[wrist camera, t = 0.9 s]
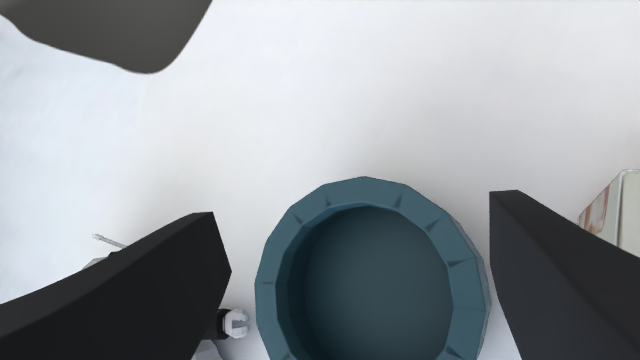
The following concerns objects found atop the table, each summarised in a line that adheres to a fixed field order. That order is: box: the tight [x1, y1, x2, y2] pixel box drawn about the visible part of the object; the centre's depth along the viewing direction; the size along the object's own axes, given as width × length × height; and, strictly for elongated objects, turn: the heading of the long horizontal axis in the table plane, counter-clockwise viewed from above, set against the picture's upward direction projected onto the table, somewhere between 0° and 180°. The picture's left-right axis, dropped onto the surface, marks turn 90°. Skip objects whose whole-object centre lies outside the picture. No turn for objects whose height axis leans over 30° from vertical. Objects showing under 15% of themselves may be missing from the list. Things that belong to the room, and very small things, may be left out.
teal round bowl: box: [255, 176, 491, 360], centre depth 22 cm, size 11×11×6 cm
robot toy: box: [82, 234, 249, 360], centre depth 28 cm, size 12×4×15 cm
